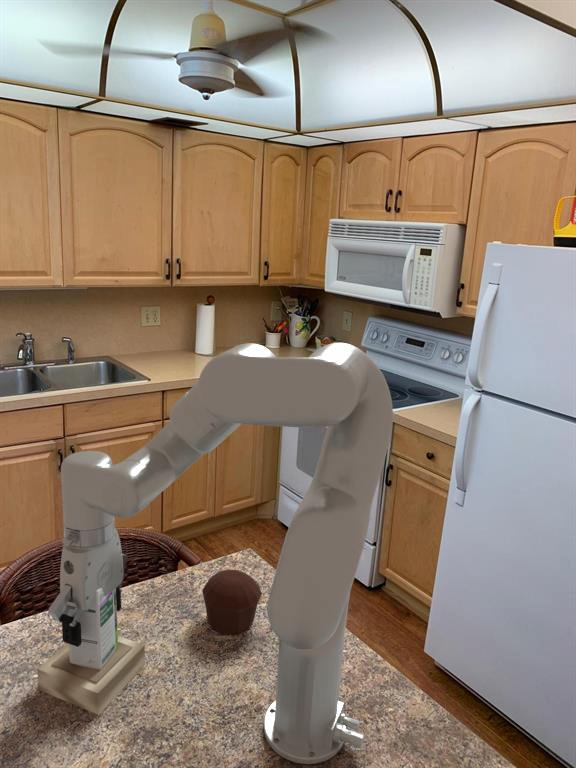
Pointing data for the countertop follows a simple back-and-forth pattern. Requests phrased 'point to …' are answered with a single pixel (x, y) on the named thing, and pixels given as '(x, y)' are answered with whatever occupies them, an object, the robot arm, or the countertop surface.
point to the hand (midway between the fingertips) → (93, 625)
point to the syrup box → (96, 632)
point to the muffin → (231, 602)
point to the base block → (91, 676)
